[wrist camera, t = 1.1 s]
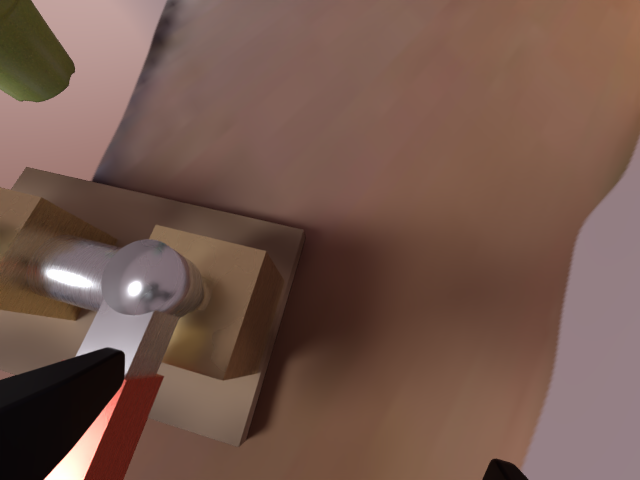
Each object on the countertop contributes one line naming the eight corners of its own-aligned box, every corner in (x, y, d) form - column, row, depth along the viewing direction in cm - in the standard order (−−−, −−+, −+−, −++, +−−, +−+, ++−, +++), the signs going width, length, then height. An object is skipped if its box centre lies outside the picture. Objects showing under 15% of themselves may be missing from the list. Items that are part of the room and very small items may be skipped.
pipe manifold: (257, 373, 18) (181, 388, 9) (-66, 279, 21) (-366, 220, 12) (284, 281, 20) (245, 217, 11) (-15, 206, 23) (-240, 107, 14)
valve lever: (155, 251, 13) (122, 231, 11) (212, 265, 13) (189, 247, 11) (29, 521, 10) (-50, 564, 8) (101, 549, 10) (38, 602, 8)
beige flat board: (245, 440, 18) (238, 447, 17) (-63, 341, 21) (-92, 340, 20) (305, 237, 23) (303, 229, 21) (43, 177, 25) (26, 166, 24)
